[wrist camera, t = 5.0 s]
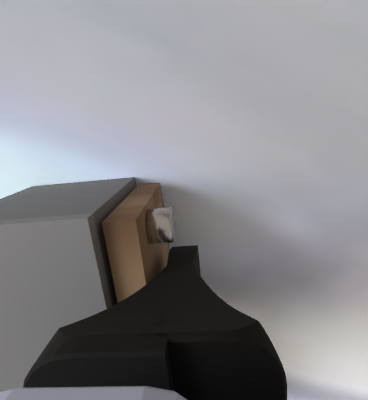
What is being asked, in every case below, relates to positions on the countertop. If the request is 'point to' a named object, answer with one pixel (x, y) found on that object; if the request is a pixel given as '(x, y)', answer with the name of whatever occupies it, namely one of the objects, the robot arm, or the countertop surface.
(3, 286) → the grey long block
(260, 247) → the countertop surface
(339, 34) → the countertop surface
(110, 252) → the door
